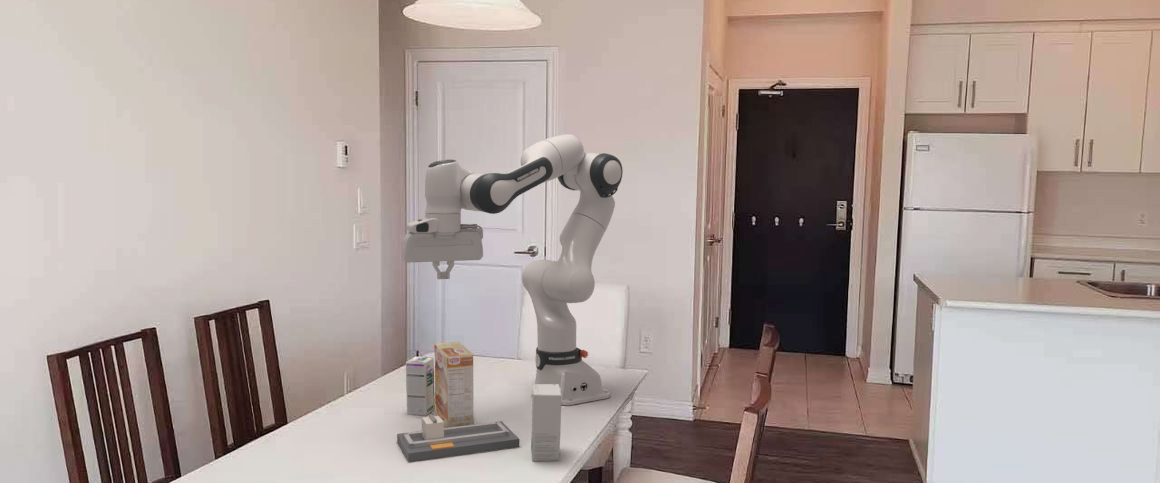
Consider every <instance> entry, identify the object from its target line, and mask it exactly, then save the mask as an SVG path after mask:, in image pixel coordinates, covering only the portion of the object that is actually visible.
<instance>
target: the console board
mask: <svg viewBox="0 0 1160 483" xmlns="http://www.w3.org/2000/svg"><path fill="white" fill-rule="evenodd" d="M520 441H521V440H520V438H519V437H518V436H517V434H515V433H514V431H512V430H511V428H510V427H508V426H507V425H506V424H505V423H504V422H503V421H502V420H500V421H499V420H498V421H492V422H484V423H476V424H474V425H465V426H457V427H449V428H444V438H440V439H432V440H424V438H423V437H422V430H416V431H409V432H401V433H397V434H396V442H397V445H398V446H399V448H400V449H401V451H402V453H403V455H404V457H405V459H406V461H407V462H408V463H412V462H413V463H414V462H419V461H426V460H434V459H441V458H442V459H443V458H449V457H456V456H462V455H464V456H465V455H471V454H472V455H473V454H477V453H478V454H479V453H486V452H493V451H500V450H508V449H515V448H520V447H521V446H520V445H521V444H520V443H521V442H520Z"/></svg>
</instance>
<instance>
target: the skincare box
mask: <svg viewBox="0 0 1160 483" xmlns="http://www.w3.org/2000/svg"><path fill="white" fill-rule="evenodd" d="M561 419H562V405H561V389H560V387H559V384H535V383H534V384H532V393H531V438H530V440H531V441H530V442H531V444H530V446H531V447H530V450H531V460H532V462H552V461H553V462H558V461H560V460H561V459H560V454H561V453H560V451H561V450H560V449H561V421H562V420H561Z"/></svg>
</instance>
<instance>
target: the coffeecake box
mask: <svg viewBox="0 0 1160 483" xmlns="http://www.w3.org/2000/svg"><path fill="white" fill-rule="evenodd" d="M433 348H434V394H435V409H434V416H439V417H440V418H441V419H442V420H443V422H444V428H449V427H457V426H465V425H474V420H475V418H474V414H475V412H474V354H473V353H472V352H471V351H470V350H469V349H468V348H467V347H465V345H464V344H462V343H461V342H460V341H455V342H453V341H452V342H438V343H437V342H436V343H434V347H433Z"/></svg>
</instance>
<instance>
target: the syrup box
mask: <svg viewBox="0 0 1160 483" xmlns="http://www.w3.org/2000/svg"><path fill="white" fill-rule="evenodd" d="M405 376H406V377H405V379H406V380H405V382H406V384H405V386H406V414H407V415H411V416H424V417H428V416H429V414H431V413H432V412H434V411H435V357H431V356H414V357H412V358H411V359H408V360H407V361H405Z"/></svg>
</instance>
